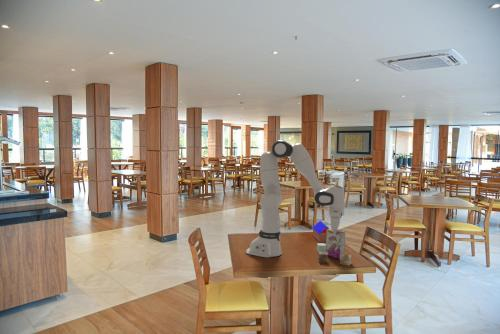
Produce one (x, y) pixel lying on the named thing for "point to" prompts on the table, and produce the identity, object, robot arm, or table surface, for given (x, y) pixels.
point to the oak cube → (345, 259)
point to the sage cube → (321, 247)
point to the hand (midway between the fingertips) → (335, 234)
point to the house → (320, 232)
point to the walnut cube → (323, 257)
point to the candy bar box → (335, 243)
